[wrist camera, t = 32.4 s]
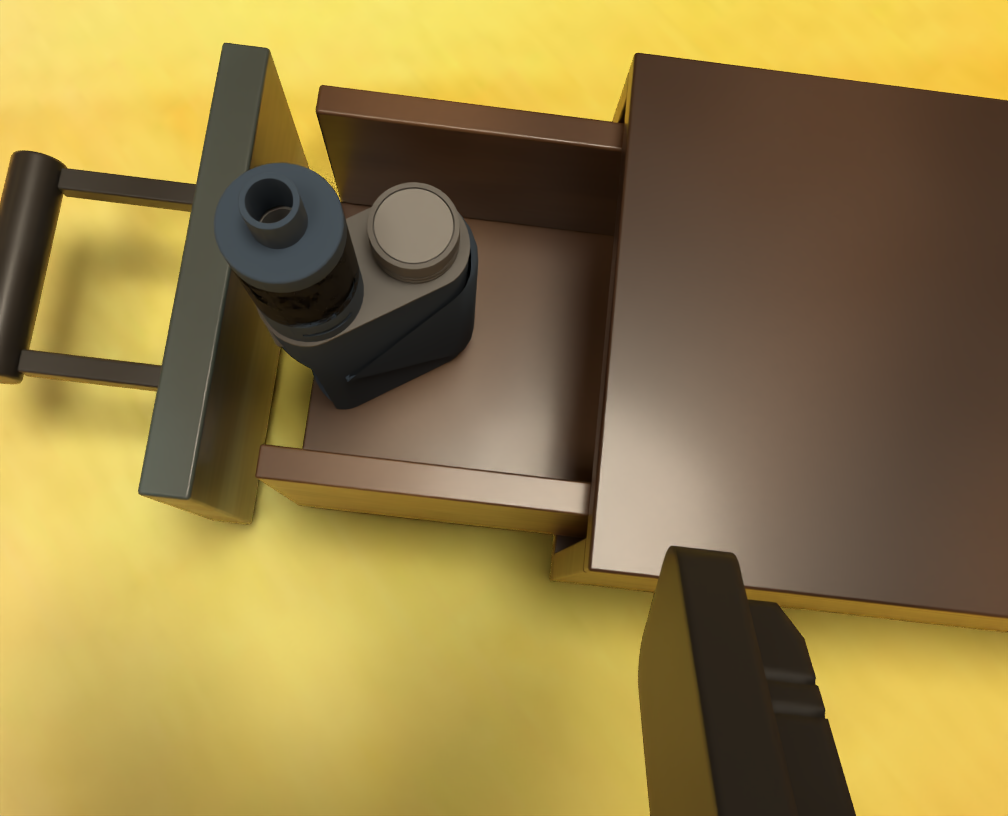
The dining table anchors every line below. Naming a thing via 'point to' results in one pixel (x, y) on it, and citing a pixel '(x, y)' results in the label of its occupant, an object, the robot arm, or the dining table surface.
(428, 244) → the vaping device
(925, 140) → the cabinet
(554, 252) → the drawer
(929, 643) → the dining table surface
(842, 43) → the dining table surface
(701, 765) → the robot arm
